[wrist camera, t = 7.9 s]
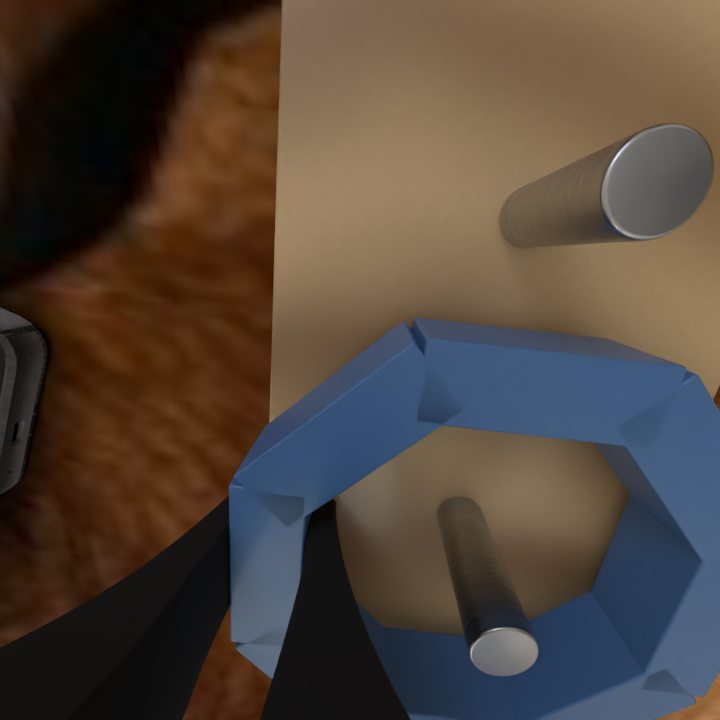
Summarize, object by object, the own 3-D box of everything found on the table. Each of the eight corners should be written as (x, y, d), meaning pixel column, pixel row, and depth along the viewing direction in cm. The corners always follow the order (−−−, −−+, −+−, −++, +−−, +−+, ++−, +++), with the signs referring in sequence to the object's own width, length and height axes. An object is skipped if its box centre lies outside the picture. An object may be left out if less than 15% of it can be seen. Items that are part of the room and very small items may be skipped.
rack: (583, 623, 15) (701, 830, 10) (271, 586, 15) (213, 770, 10) (840, -1, 9) (1631, -438, 3) (295, -56, 9) (166, -567, 3)
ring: (759, 355, 10) (895, 390, 7) (602, 687, 14) (653, 784, 11) (263, 299, 10) (225, 315, 7) (256, 647, 14) (230, 733, 11)
